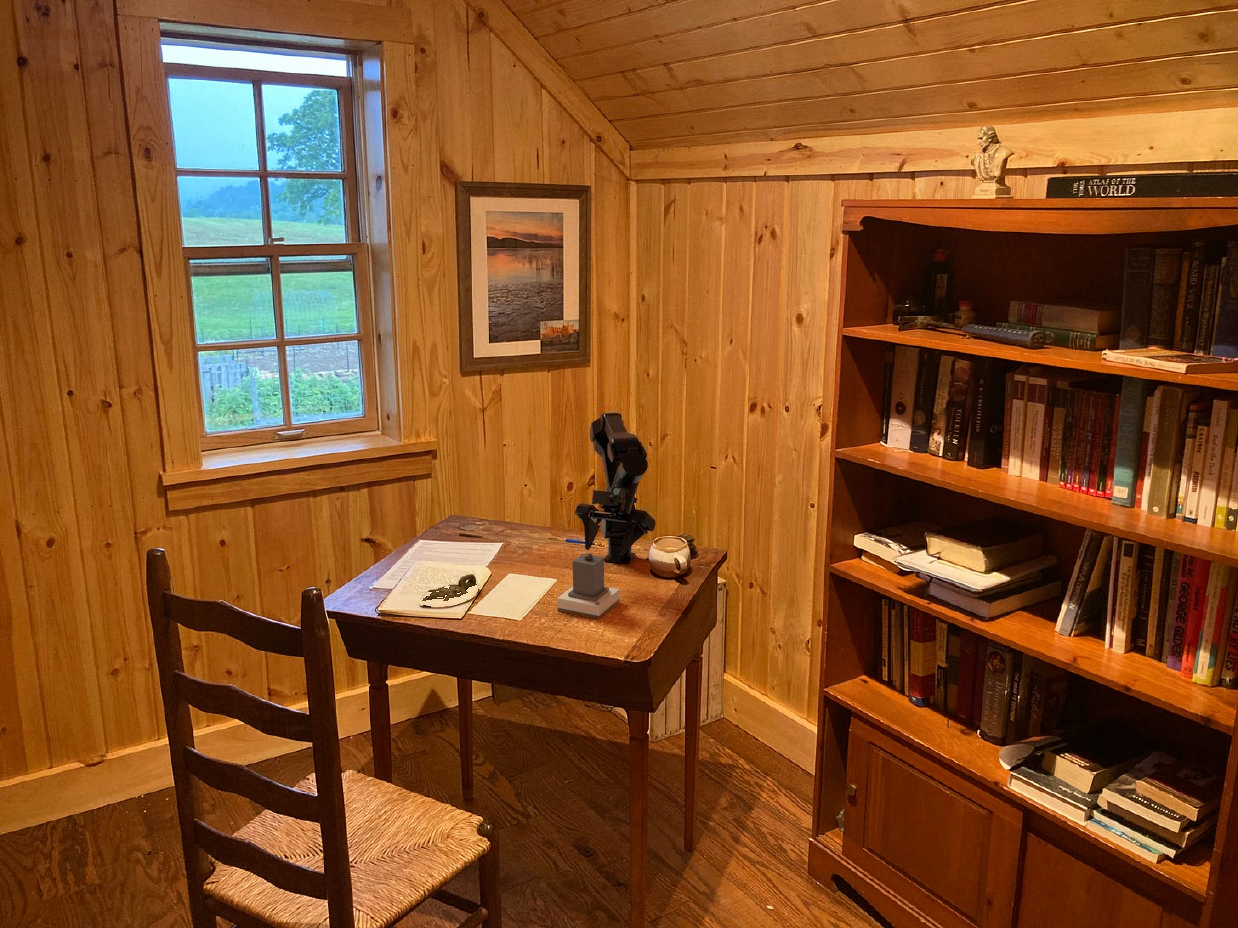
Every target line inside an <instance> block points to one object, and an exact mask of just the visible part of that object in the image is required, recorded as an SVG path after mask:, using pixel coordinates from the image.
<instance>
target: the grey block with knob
mask: <svg viewBox="0 0 1238 928" xmlns="http://www.w3.org/2000/svg"><path fill="white" fill-rule="evenodd" d="M604 558H605V557H604V556H600V555H599V556H598V555H594V554H592V553H582V554H581V555H579V556H578V557H577V558H575V559H574V560H572V587H573V590H572V591H570V592H569V593H568V597H572V598H578V599H583V600H588V601H593V602H596V601H597V600H599V599H600V598H601V597H602V596H603V595H605V594H606V593H607V592H608V591H609V587H610V586H605V561H604Z"/></svg>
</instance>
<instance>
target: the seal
mask: <svg viewBox="0 0 1238 928" xmlns="http://www.w3.org/2000/svg"><path fill="white" fill-rule="evenodd" d="M476 583H477V577H476V576H475V574H472V573H469V574H466V575H463V576H461V577H460V578H459V580H458V584H448V586H450V587H449V589H448V588H444V587H445V586H446V585H445V586H442V587H441V586H440V587H438V589H437V588H435V589H429V590H428V591H426V593H427V592H432V593H431V594H430V596H426V597H425V598H423V600H422V601H426V600H432V599H444V598H445V599H444V600H443V601H448V600H449V598H454V597H460V596H461V595H463V594H466V593H468V592H467V591H466V590H467V589H468V588H469V587H472V586H475V585H477V584H478V583H477V584H476ZM436 591H439V592H436ZM460 592H461V593H460ZM457 593H460V594H457ZM445 595H447V596H446V597H445ZM437 597H443V598H437Z"/></svg>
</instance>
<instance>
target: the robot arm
mask: <svg viewBox="0 0 1238 928" xmlns="http://www.w3.org/2000/svg"><path fill="white" fill-rule="evenodd" d="M599 416H600V417H599V418H597V419H595V420H594V421H592V422H591V424H590V427H589V440H590V442H591V443H592V445H593V446H592V447H593V450H594V451H595V453H597V454H598V455H599V456H600V457H601V461H602V466H603V473H604V480H605V486H606V490H598V489H597V490H595V489H593V490H592V497H591V504H588V503H579V504H577V506H576V508H575V511H574V515H576V516H577V518H578V519H579V520H580V521H581V522H582V524H583V528H584V549H585V550H586V551H590V549H591V547H592V546H593V543H594V541H595V540H596V537H597V535H598V533H599V530H600V529H601V530H600V531H601V534H602V536H603V538H604V539H607V541H608V542H607V543H608V544H607V553H608V554H607V555H606V556H605V557H604V562H606V563H607V562H609V563H614V564H615V563H617V564H623V565H630V563H631V562H632V560H634V559H635V557H636V556H637V553H636V552H632V547H633V545H634V544H635V543H636V542H638V540H640V538H641V537H643V536H644V535H647V534H648V533H649V532H654V531H655V528H656V519H655V518H654V517H653V516H652V515H651V514H650V513H649V512H648V511H647V510H643V509H642V510H641V509H636V506H635V503H637V501H638V498H637V497H636V493H637V490H638V488H639V485H640V482H641V480H642V479H643V478H644V476H645V474H646V472H647V470H648V468H649V467H648V466H649V462H648V460H647V458H648V452H647V450H646V448H645V447H644V446H643V443H642V442H641V441H640V439H639V438H638V437H637V435H635V433H629V432H628V430H627V427H626V426H625V421H624V419H622V418H623V417H622V413H621V412H603V413H601V414H600V415H599ZM594 505H598V507H599V508H601V509H603V510H599V508H597V507H596V506H594ZM600 524H601V525H600Z"/></svg>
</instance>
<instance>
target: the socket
mask: <svg viewBox="0 0 1238 928" xmlns="http://www.w3.org/2000/svg"><path fill="white" fill-rule="evenodd" d="M608 587H609V591H608V592H607V593H606V594H605V595H603V596H602V597H601V598H600V599H599V600H597V601H596V602H593V601H588V600H583V599H578V598H572V597H568V593H569V592H570V591H572V590H573V586H571V587H570V588H569V589H568V590H566V591H565V592H564V593H562V594H561V595H560V596H558V597H557V599H556V600H557V611H558V612H562V613H565V614H570V615H571V614H572V615H576V616H581V617H584V618H585V617H586V618H591V619H595V620H600V619H602V618H603V616H605V615H606V614H607V613H609V612H610V611H611V610H612V609H613V608H614V607H615V606H617V605H618V604H619V603H620V589H619V588H614V587H610V586H608Z"/></svg>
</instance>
